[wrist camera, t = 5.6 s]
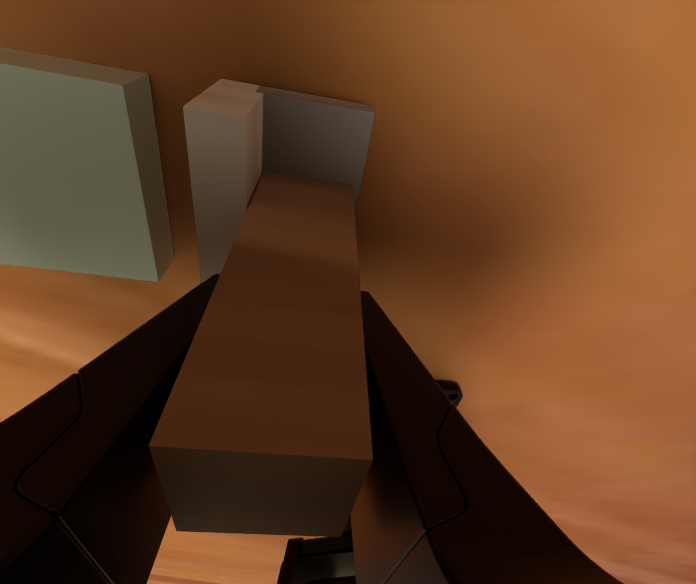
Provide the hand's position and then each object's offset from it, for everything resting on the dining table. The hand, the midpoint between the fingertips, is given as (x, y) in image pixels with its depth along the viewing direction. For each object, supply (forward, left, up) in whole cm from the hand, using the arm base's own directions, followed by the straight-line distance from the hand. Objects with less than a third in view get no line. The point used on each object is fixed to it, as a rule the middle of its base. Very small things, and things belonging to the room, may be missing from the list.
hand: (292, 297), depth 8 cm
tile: (0, +8, -6) cm, 10 cm away
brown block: (0, +1, -4) cm, 5 cm away
